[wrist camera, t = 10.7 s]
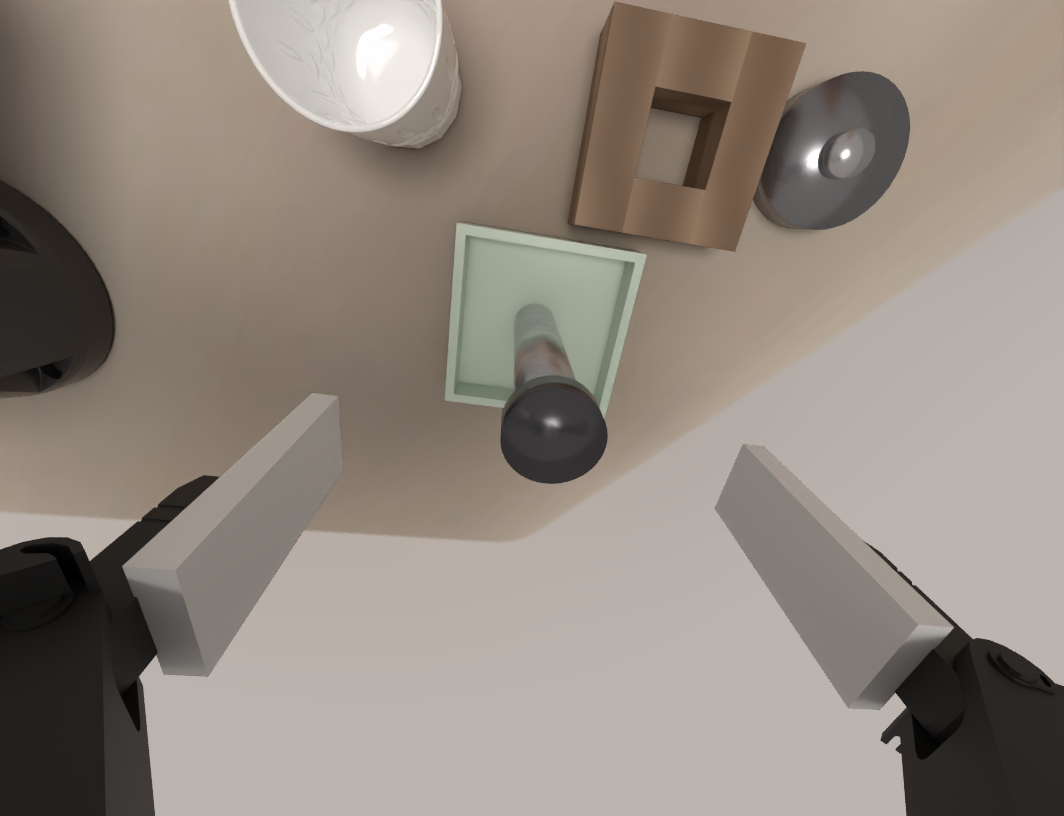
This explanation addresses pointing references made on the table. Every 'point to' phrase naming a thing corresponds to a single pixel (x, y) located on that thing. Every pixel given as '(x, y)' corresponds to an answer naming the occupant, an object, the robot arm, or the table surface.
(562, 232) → the table surface
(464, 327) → the tray
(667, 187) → the block
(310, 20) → the white cup
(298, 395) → the table surface
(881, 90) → the grey pot lid
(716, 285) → the table surface
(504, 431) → the lock pin
